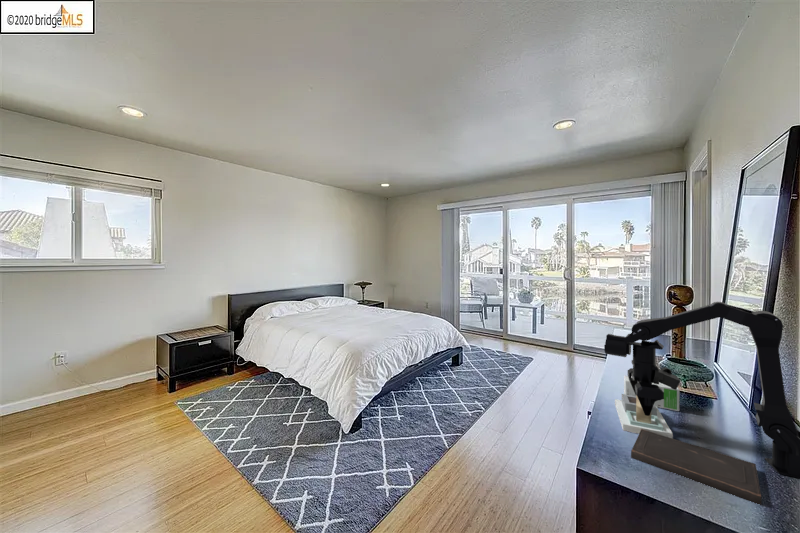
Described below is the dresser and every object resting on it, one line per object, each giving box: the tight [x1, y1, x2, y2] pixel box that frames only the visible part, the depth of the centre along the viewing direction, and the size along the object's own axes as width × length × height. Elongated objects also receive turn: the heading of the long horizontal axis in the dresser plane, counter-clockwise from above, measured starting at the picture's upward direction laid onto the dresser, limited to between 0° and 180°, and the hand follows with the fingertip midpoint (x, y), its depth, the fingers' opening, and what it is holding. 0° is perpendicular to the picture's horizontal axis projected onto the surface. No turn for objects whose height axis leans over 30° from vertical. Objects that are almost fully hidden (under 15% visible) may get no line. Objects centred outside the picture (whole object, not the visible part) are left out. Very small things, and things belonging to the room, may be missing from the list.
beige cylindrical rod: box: [636, 395, 651, 424], centre depth 98 cm, size 4×4×10 cm
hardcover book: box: [630, 429, 762, 506], centre depth 81 cm, size 16×23×2 cm
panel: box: [614, 393, 674, 439], centre depth 103 cm, size 20×12×5 cm, turn 151°
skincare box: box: [623, 375, 680, 412], centre depth 115 cm, size 8×7×16 cm
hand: (644, 409), depth 98 cm, fingers open, 9 cm apart
